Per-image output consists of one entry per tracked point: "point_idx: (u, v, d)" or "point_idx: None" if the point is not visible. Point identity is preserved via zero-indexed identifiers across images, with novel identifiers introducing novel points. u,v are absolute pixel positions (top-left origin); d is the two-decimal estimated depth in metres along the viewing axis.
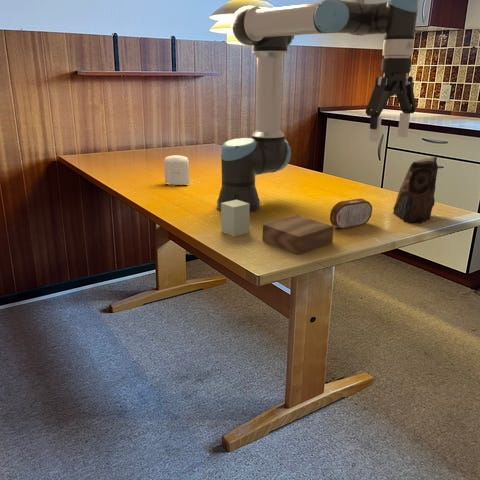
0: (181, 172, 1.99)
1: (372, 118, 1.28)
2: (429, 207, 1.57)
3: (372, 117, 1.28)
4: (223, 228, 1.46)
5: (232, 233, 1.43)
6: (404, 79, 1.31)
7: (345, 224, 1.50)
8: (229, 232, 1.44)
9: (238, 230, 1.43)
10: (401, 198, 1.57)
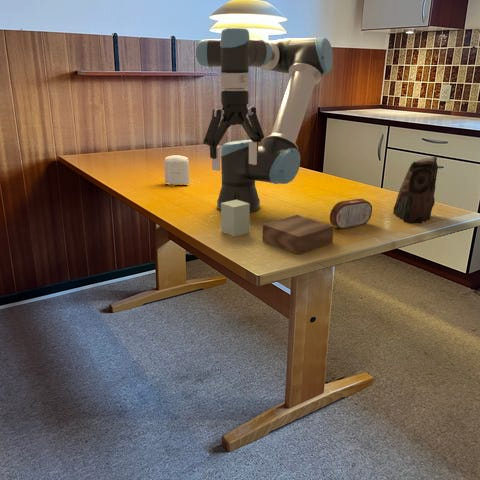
0: (181, 172, 1.99)
1: (211, 148, 1.33)
2: (429, 207, 1.57)
3: (211, 147, 1.33)
4: (223, 228, 1.46)
5: (232, 233, 1.43)
6: (245, 110, 1.36)
7: (345, 224, 1.50)
8: (229, 232, 1.44)
9: (238, 230, 1.43)
10: (401, 198, 1.57)
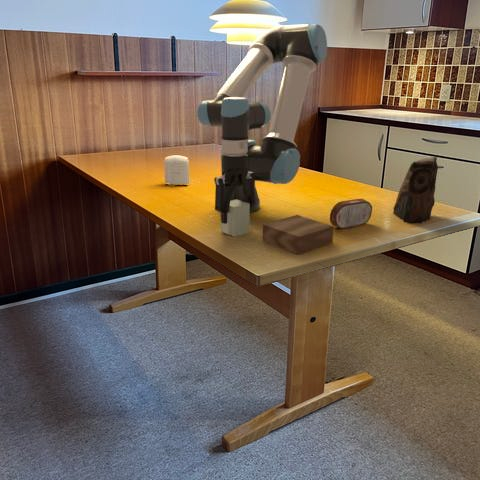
0: (181, 172, 1.99)
1: (222, 214, 1.42)
2: (429, 207, 1.57)
3: (222, 213, 1.42)
4: None
5: (232, 233, 1.43)
6: (245, 172, 1.42)
7: (345, 224, 1.50)
8: None
9: (238, 230, 1.43)
10: (401, 198, 1.57)
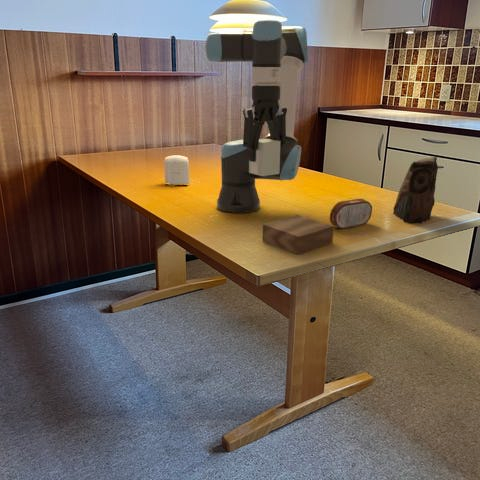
0: (181, 172, 1.99)
1: (250, 151, 1.31)
2: (429, 207, 1.57)
3: (250, 150, 1.31)
4: None
5: (261, 172, 1.32)
6: (276, 106, 1.31)
7: (345, 224, 1.50)
8: None
9: (268, 169, 1.32)
10: (401, 198, 1.57)
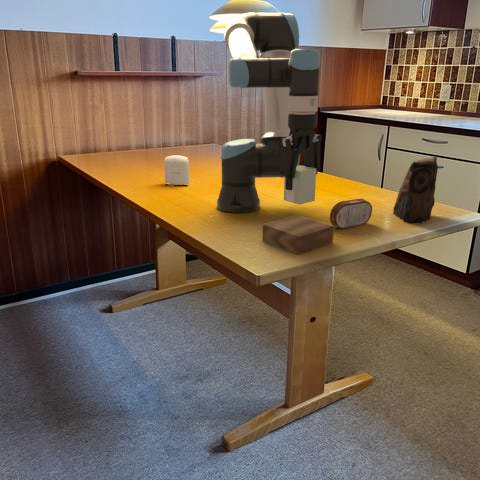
0: (181, 172, 1.99)
1: (287, 179, 1.29)
2: (429, 207, 1.57)
3: (287, 178, 1.29)
4: None
5: (297, 201, 1.31)
6: (312, 133, 1.29)
7: (345, 224, 1.50)
8: None
9: (304, 197, 1.31)
10: (401, 198, 1.57)
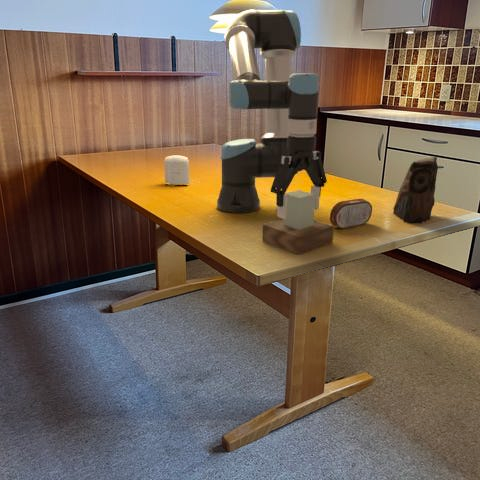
0: (181, 172, 1.99)
1: (278, 196, 1.29)
2: (429, 207, 1.57)
3: (277, 195, 1.29)
4: (285, 221, 1.36)
5: (296, 226, 1.33)
6: (311, 155, 1.31)
7: (345, 224, 1.50)
8: (293, 225, 1.34)
9: (303, 223, 1.34)
10: (401, 198, 1.57)
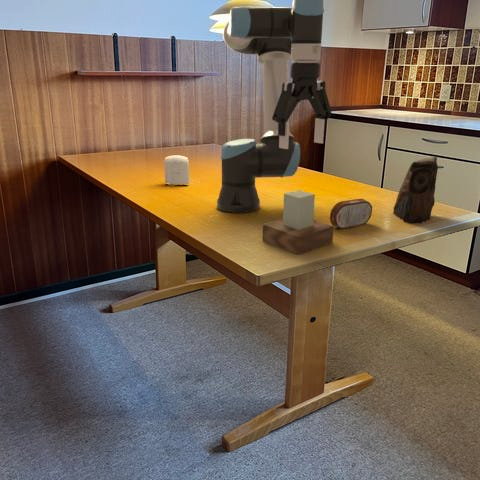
0: (181, 172, 1.99)
1: (279, 124, 1.25)
2: (429, 207, 1.57)
3: (279, 123, 1.25)
4: (285, 221, 1.36)
5: (296, 226, 1.33)
6: (315, 84, 1.27)
7: (345, 224, 1.50)
8: (293, 225, 1.34)
9: (303, 223, 1.34)
10: (401, 198, 1.57)
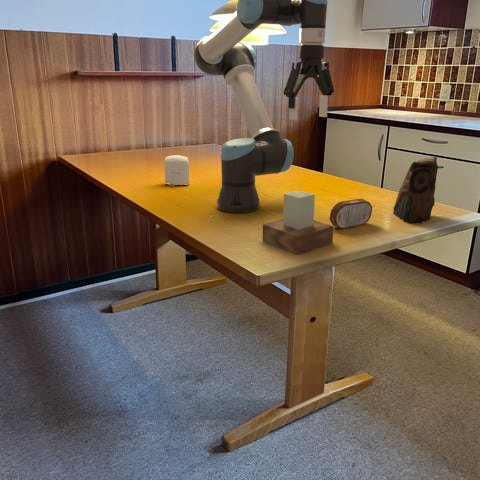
0: (181, 172, 1.99)
1: (290, 98, 1.44)
2: (429, 207, 1.57)
3: (290, 97, 1.44)
4: (285, 221, 1.36)
5: (296, 226, 1.33)
6: (320, 64, 1.47)
7: (345, 224, 1.50)
8: (293, 225, 1.34)
9: (303, 223, 1.34)
10: (401, 198, 1.57)
